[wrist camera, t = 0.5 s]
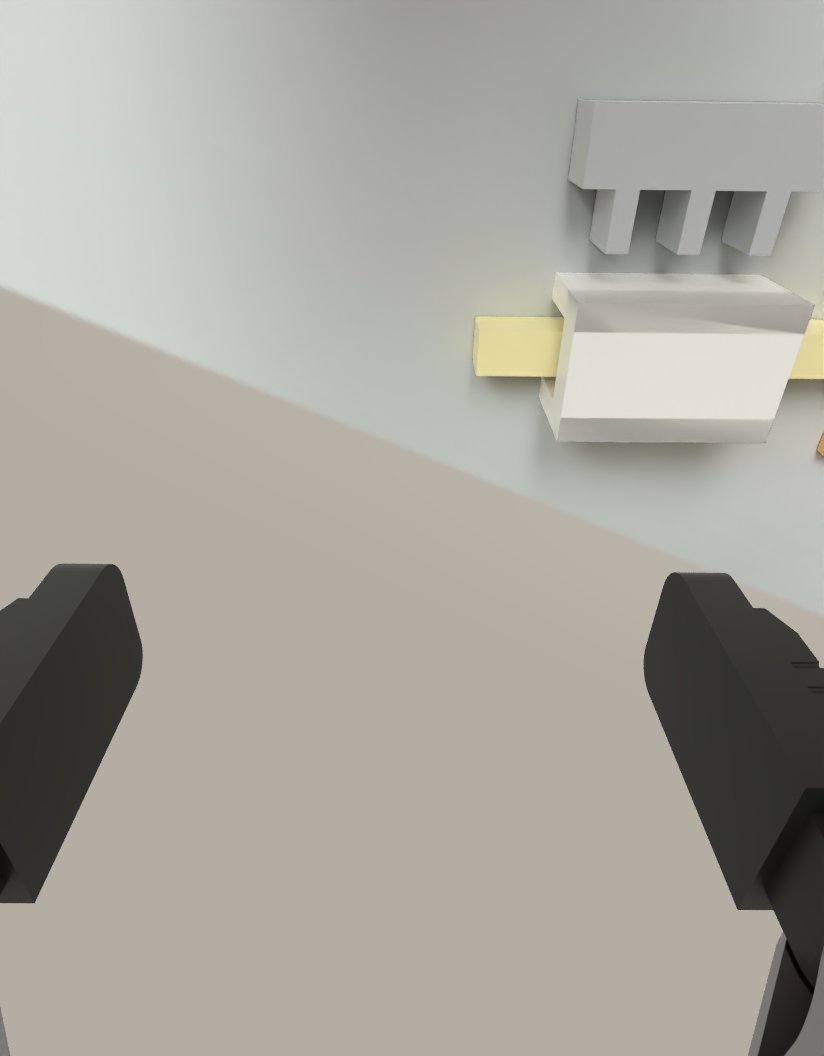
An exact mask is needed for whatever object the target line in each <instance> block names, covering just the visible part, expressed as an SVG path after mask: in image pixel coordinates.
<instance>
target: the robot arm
mask: <svg viewBox="0 0 824 1056" xmlns="http://www.w3.org/2000/svg"><path fill="white" fill-rule="evenodd" d="M142 657H143V654H142V644H141V640H140V636H139V633H138V629H137V625H136V622H135V618H134V615H133V611H132V607H131V604H130V601H129V597H128V593H127V590H126V586H125V582H124V579H123V576H122V574H121V571H120V570H119V568H118V567H117V566H115V565H113V564H58V565H56V566H55V567H53V568H52V569H51V570H50V572H49V573H48V574H47V576H46V577H45V578H44V580H43V581H42V582H41V583H40V585H39V586H38V587H37V588H36V590H35V591H34V592H33V594H32V595H31V596H30V597H29V599H25V598H18V599H17V600H15V601H14V602H12V603H11V604H10V605H8V606H6V607H5V608H4V609H2V610H1V611H0V903H35V901H36V899H37V897H38V895H39V892H40V890H41V888H42V886H43V884H44V882H45V880H46V878H47V876H48V873H49V871H50V869H51V867H52V865H53V863H54V861H55V859H56V856H57V854H58V852H59V850H60V848H61V846H62V843H63V842H64V839H65V837H66V835H67V833H68V831H69V829H70V827H71V825H72V823H73V820H74V818H75V816H76V814H77V811H78V810H79V808H80V805H81V803H82V801H83V799H84V797H85V795H86V793H87V791H88V788H89V786H90V784H91V782H92V780H93V778H94V776H95V774H96V772H97V769H98V767H99V765H100V763H101V761H102V759H103V757H104V755H105V752H106V750H107V748H108V746H109V744H110V742H111V740H112V737H113V735H114V733H115V731H116V729H117V727H118V725H119V723H120V721H121V718H122V716H123V714H124V712H125V710H126V708H127V706H128V704H129V701H130V699H131V697H132V695H133V693H134V691H135V689H136V686H137V684H138V681H139V678H140V674H141V669H142ZM644 676H645V682H646V686H647V690H648V693H649V695H650V698H651V700H652V703H653V705H654V707H655V710H656V712H657V714H658V717H659V720H660V722H661V724H662V727H663V729H664V731H665V734H666V737H667V739H668V741H669V744H670V746H671V749H672V751H673V754H674V756H675V758H676V761H677V763H678V766H679V768H680V771H681V773H682V775H683V778H684V780H685V783H686V785H687V787H688V790H689V793H690V795H691V797H692V800H693V802H694V805H695V807H696V810H697V812H698V814H699V817H700V819H701V821H702V824H703V826H704V829H705V831H706V834H707V836H708V839H709V841H710V844H711V846H712V848H713V851H714V853H715V856H716V858H717V861H718V863H719V865H720V868H721V870H722V873H723V875H724V878H725V880H726V882H727V885H728V887H729V890H730V892H731V895H732V897H733V900H734V902H735V904H736V907H737V909H738V910H774V912H775V914H776V916H777V919H778V921H779V923H780V925H781V927H782V930H783V934H782V935H781V937H780V938H779V940H778V943H777V945H776V949H775V952H774V957H773V960H772V964H771V968H770V972H769V976H768V980H767V983H766V988H765V991H764V995H763V999H762V1003H761V1007H760V1011H759V1015H758V1018H757V1022H756V1026H755V1030H754V1034H753V1038H752V1042H751V1046H750V1049H749V1053H748V1056H824V668H819V661H818V660H817V659H816V657H815V656H814V655H813V653H812V652H811V651H810V649H809V648H808V647H807V645H806V644H805V643H804V641H803V640H802V639H801V637H800V636H799V635H798V633H797V632H795V631H794V630H793V629H791V628H790V627H789V626H787V625H786V624H785V623H783V622H782V621H780V620H779V619H778V618H777V617H775V616H774V615H773V614H772V613H770V612H769V611H768V610H766V609H764V608H763V609H762V608H753V607H752V606H751V605H750V603H749V602H748V600H747V599H746V597H745V596H744V594H743V593H742V591H741V590H740V588H739V587H738V585H737V584H736V583H735V581H734V580H733V579H732V577H731V576H729V575H728V574H726V573H671V574H670V575H669V576H668V577H667V579H666V581H665V584H664V586H663V589H662V593H661V596H660V600H659V604H658V607H657V610H656V614H655V617H654V621H653V624H652V628H651V631H650V634H649V638H648V642H647V645H646V649H645V654H644ZM0 1056H10V1052H9V1047H8V1042H7V1038H6V1032H5V1028H4V1023H3V1018H2V1013H1V1008H0Z"/></svg>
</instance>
